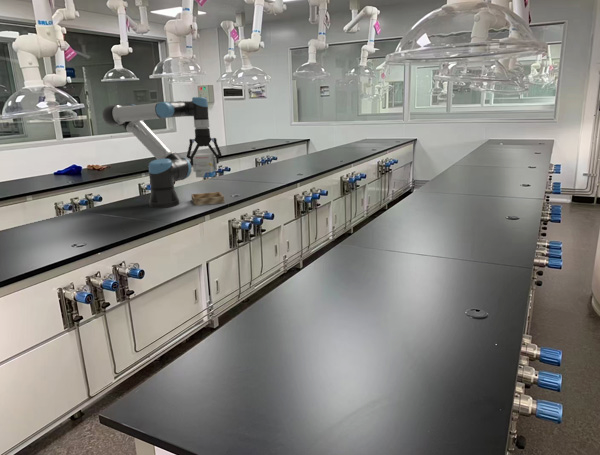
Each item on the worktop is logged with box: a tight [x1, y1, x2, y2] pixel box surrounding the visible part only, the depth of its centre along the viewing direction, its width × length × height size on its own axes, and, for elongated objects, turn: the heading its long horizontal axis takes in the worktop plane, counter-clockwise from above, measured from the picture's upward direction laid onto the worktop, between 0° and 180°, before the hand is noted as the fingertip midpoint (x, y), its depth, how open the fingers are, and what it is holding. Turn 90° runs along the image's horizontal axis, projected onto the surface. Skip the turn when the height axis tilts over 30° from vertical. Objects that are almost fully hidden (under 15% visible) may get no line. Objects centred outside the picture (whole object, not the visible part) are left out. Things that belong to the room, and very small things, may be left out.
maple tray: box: [191, 191, 225, 206], centre depth 241 cm, size 16×14×3 cm
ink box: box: [193, 153, 216, 178], centre depth 236 cm, size 9×8×12 cm
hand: (205, 170), depth 237 cm, fingers closed on ink box, 11 cm apart
